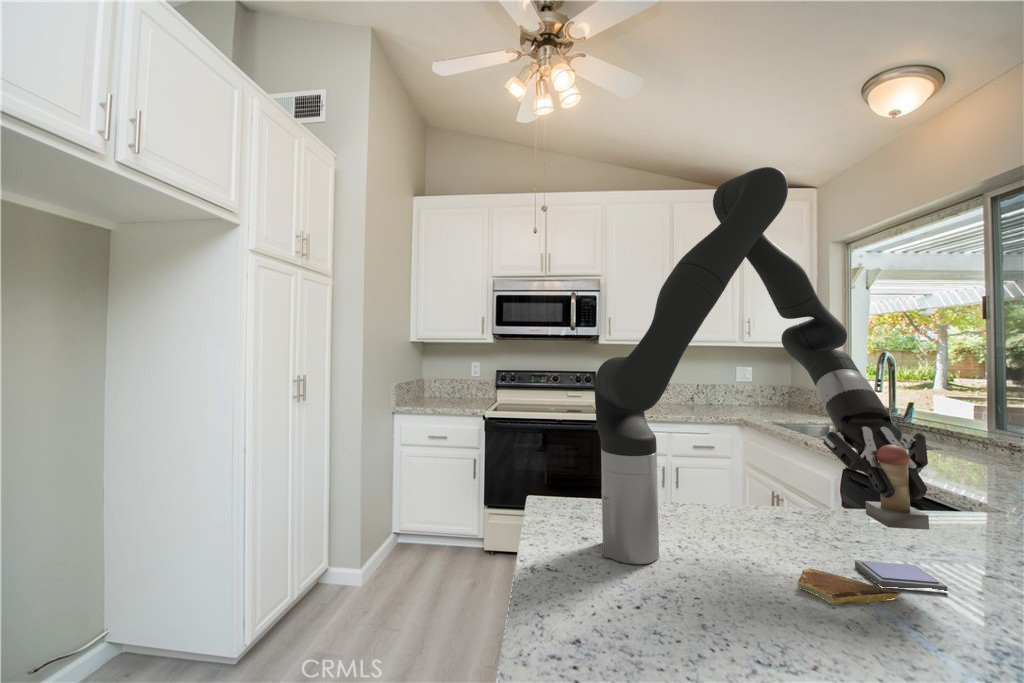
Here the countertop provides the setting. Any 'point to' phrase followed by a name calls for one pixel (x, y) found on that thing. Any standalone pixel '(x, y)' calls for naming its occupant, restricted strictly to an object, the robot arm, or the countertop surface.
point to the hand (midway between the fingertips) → (904, 495)
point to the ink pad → (898, 575)
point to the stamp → (896, 493)
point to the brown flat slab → (842, 588)
